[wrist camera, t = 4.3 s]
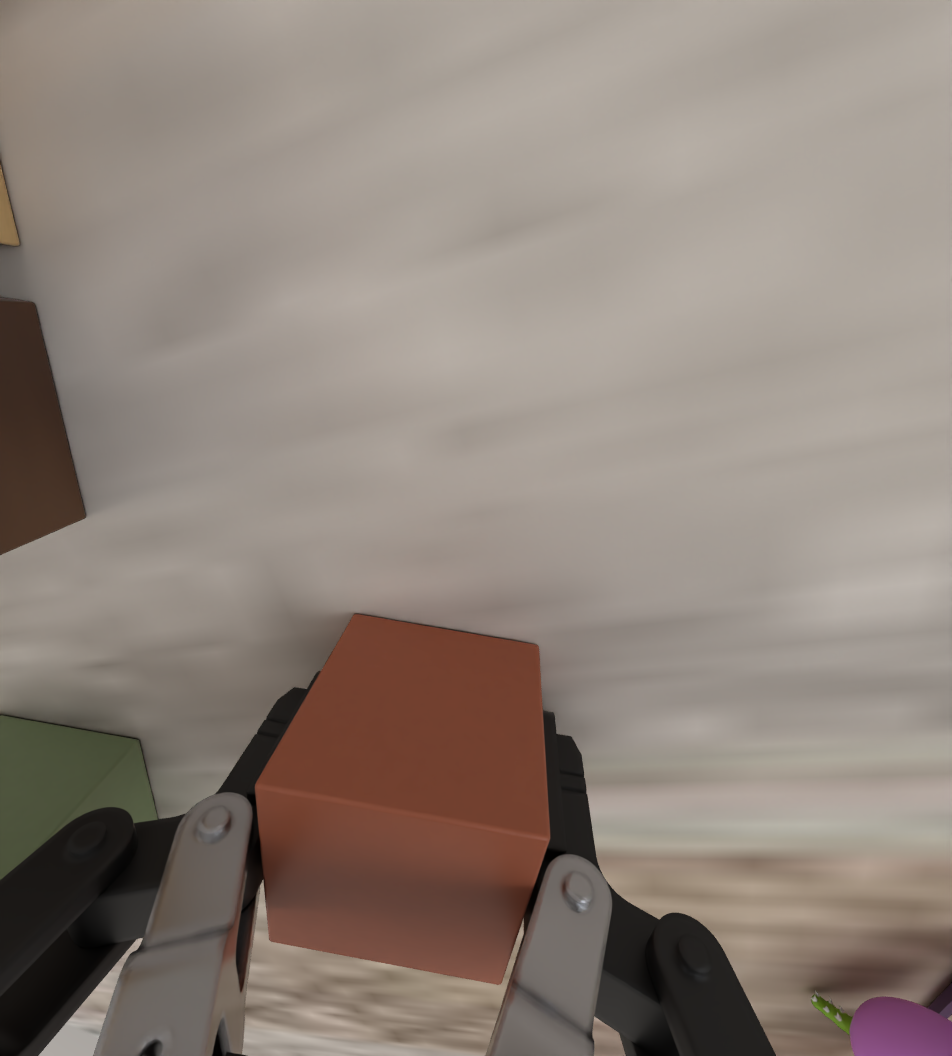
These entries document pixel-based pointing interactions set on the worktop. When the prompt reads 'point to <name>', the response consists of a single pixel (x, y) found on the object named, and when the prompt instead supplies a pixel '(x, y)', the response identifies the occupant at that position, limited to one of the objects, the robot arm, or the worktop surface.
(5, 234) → the maple block
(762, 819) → the worktop surface
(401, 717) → the terracotta red block
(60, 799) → the sage block
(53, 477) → the walnut block
